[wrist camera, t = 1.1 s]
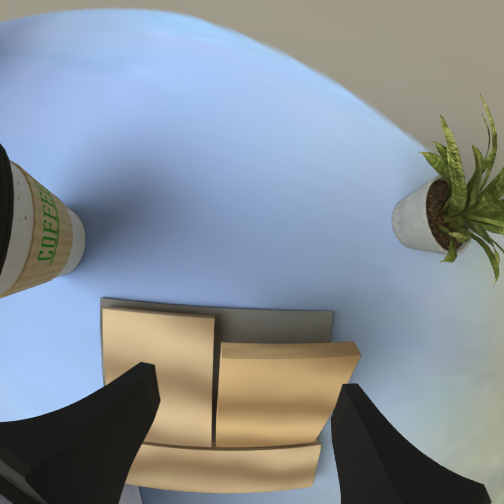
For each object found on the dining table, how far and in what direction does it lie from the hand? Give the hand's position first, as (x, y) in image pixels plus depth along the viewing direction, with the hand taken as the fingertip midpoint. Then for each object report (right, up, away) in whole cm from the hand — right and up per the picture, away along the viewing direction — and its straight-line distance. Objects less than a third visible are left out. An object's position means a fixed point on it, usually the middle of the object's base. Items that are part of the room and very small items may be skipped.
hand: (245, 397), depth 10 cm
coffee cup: (-17, +6, +12) cm, 22 cm away
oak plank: (+2, -6, +10) cm, 12 cm away
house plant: (+18, +9, +17) cm, 26 cm away
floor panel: (-3, -9, +13) cm, 16 cm away
